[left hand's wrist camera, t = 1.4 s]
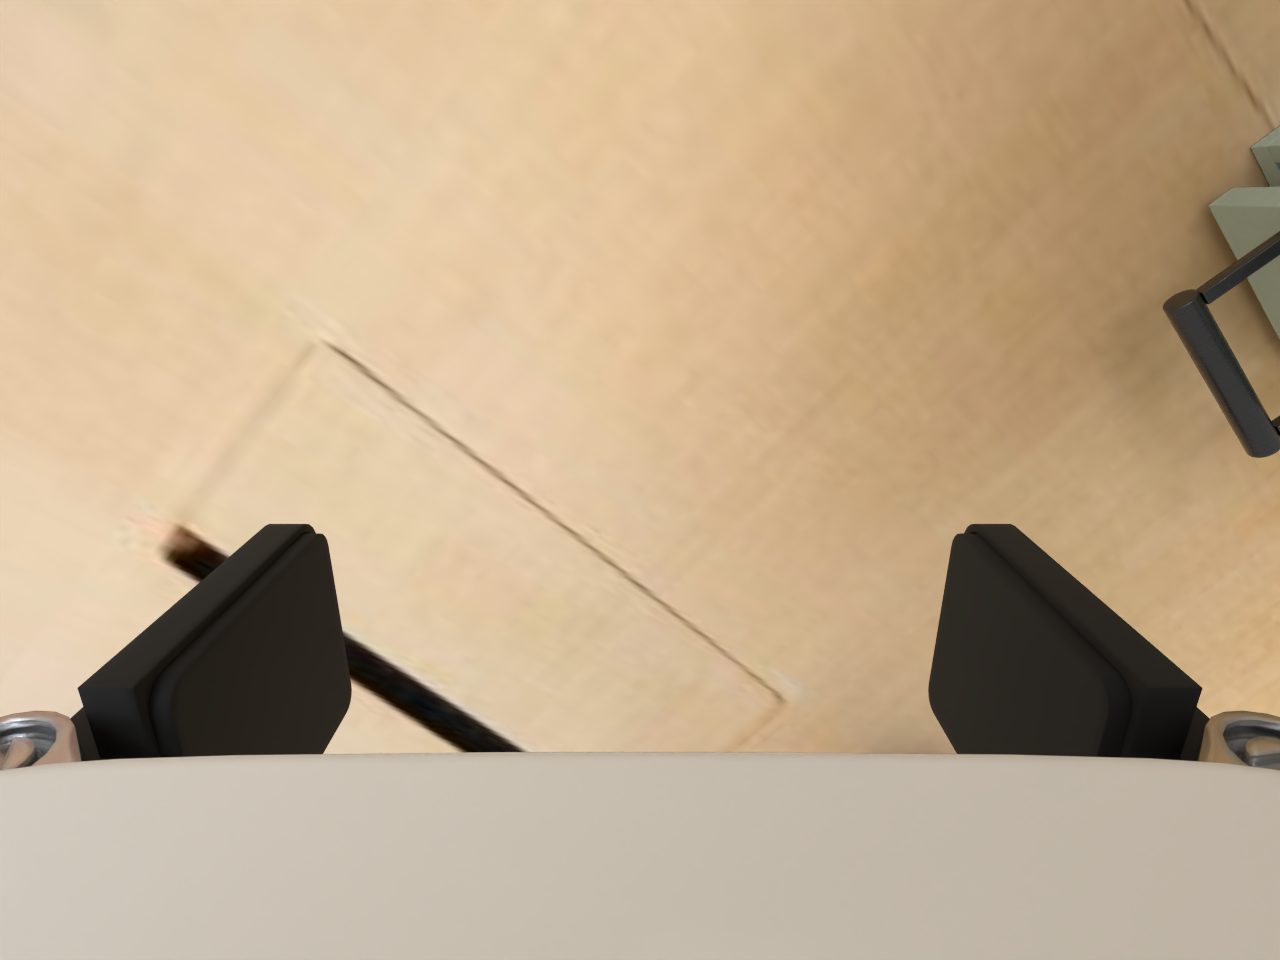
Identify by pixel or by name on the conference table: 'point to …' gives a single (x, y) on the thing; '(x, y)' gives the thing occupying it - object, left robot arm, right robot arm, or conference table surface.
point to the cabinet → (1269, 157)
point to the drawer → (1270, 260)
